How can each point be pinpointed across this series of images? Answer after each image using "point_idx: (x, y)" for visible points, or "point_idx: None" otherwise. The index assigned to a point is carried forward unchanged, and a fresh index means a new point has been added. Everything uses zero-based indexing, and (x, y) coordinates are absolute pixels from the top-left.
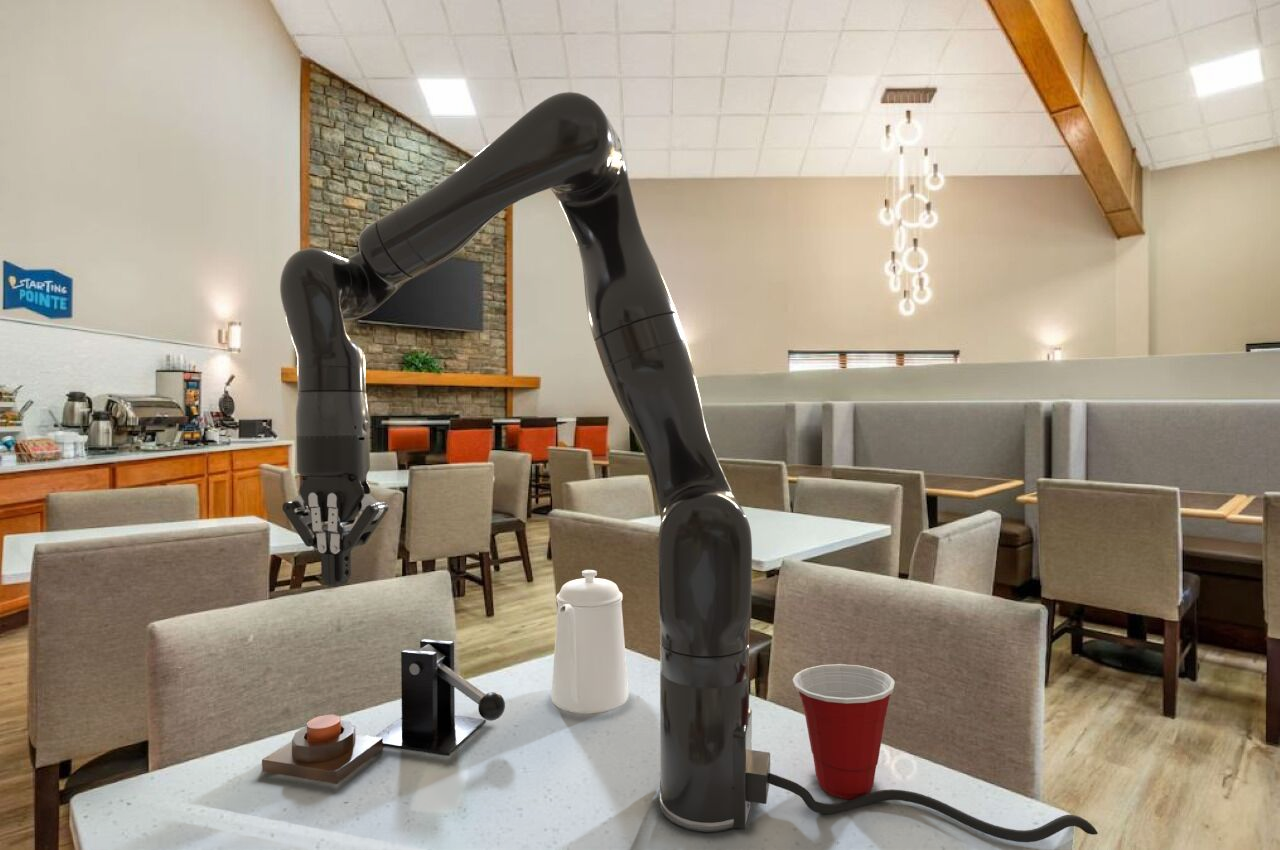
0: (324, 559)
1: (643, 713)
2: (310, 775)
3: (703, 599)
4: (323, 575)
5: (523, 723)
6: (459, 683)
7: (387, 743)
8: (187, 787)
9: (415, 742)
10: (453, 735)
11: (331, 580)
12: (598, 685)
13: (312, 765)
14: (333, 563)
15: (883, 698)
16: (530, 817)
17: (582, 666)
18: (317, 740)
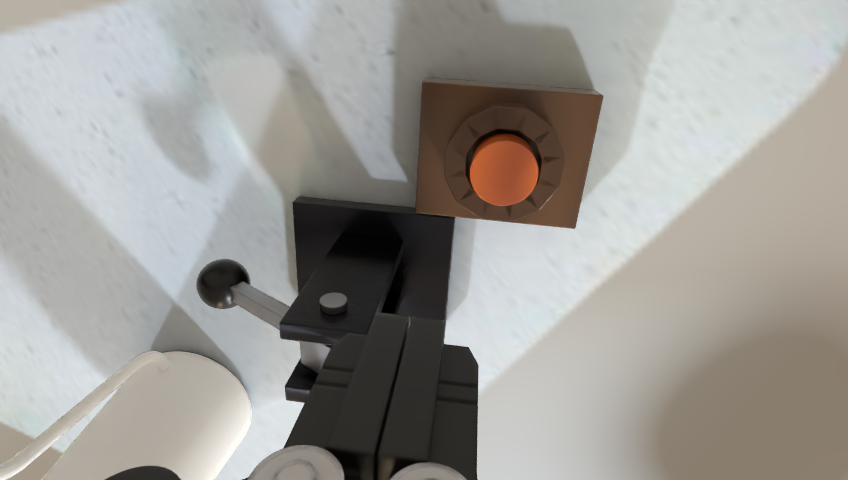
0: (424, 424)
1: (110, 371)
2: (482, 84)
3: None
4: (464, 365)
5: (258, 326)
6: (267, 306)
7: (415, 216)
8: (733, 32)
9: (368, 226)
10: (318, 257)
11: (392, 325)
12: (123, 387)
13: (484, 95)
14: (352, 395)
15: None
16: (91, 74)
17: (124, 410)
18: (496, 135)
